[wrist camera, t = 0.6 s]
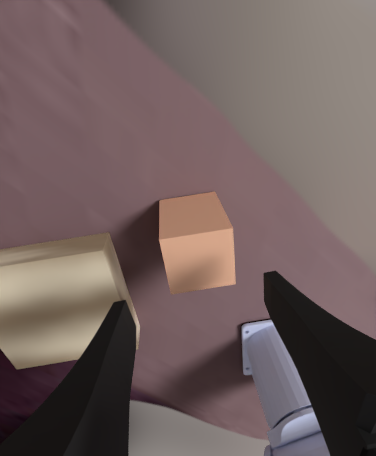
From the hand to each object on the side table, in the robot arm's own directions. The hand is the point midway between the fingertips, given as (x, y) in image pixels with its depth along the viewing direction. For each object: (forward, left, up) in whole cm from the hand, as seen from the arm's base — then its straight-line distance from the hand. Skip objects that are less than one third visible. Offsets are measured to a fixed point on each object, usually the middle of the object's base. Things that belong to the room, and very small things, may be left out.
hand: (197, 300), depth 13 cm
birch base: (-6, +12, -10) cm, 17 cm away
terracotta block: (0, -1, -10) cm, 10 cm away
